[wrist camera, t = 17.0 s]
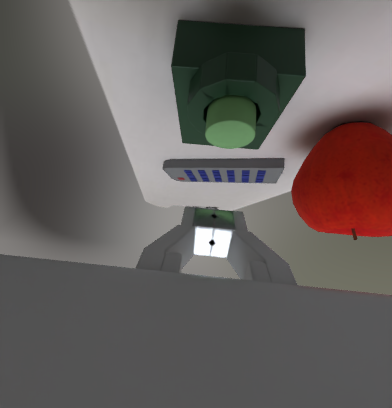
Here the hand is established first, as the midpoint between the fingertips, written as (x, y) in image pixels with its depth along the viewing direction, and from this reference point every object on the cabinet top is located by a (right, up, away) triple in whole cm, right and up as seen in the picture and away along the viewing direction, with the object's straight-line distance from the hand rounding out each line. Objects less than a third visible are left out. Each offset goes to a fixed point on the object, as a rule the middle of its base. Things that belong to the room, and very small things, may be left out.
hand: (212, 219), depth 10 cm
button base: (+2, +13, +8) cm, 15 cm away
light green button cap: (+2, +8, +4) cm, 9 cm away
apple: (+18, +10, +14) cm, 25 cm away
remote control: (+4, +8, +28) cm, 29 cm away
